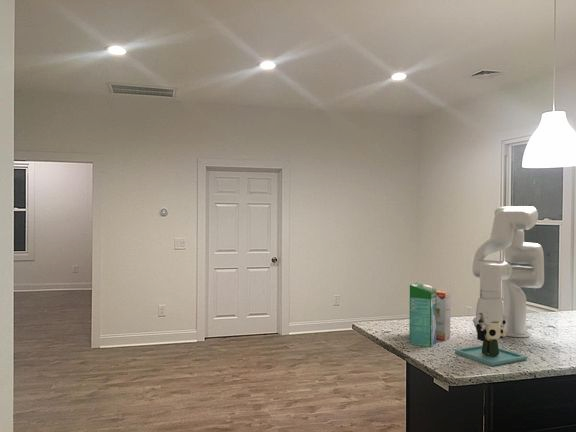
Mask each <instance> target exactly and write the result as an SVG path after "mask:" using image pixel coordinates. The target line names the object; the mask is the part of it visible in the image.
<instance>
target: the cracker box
mask: <svg viewBox="0 0 576 432" xmlns="http://www.w3.org/2000/svg"><path fill="white" fill-rule="evenodd" d="M450 338H451V291H443V290H437V312H436V340H439V341H446V340H449V339H450Z"/></svg>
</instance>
